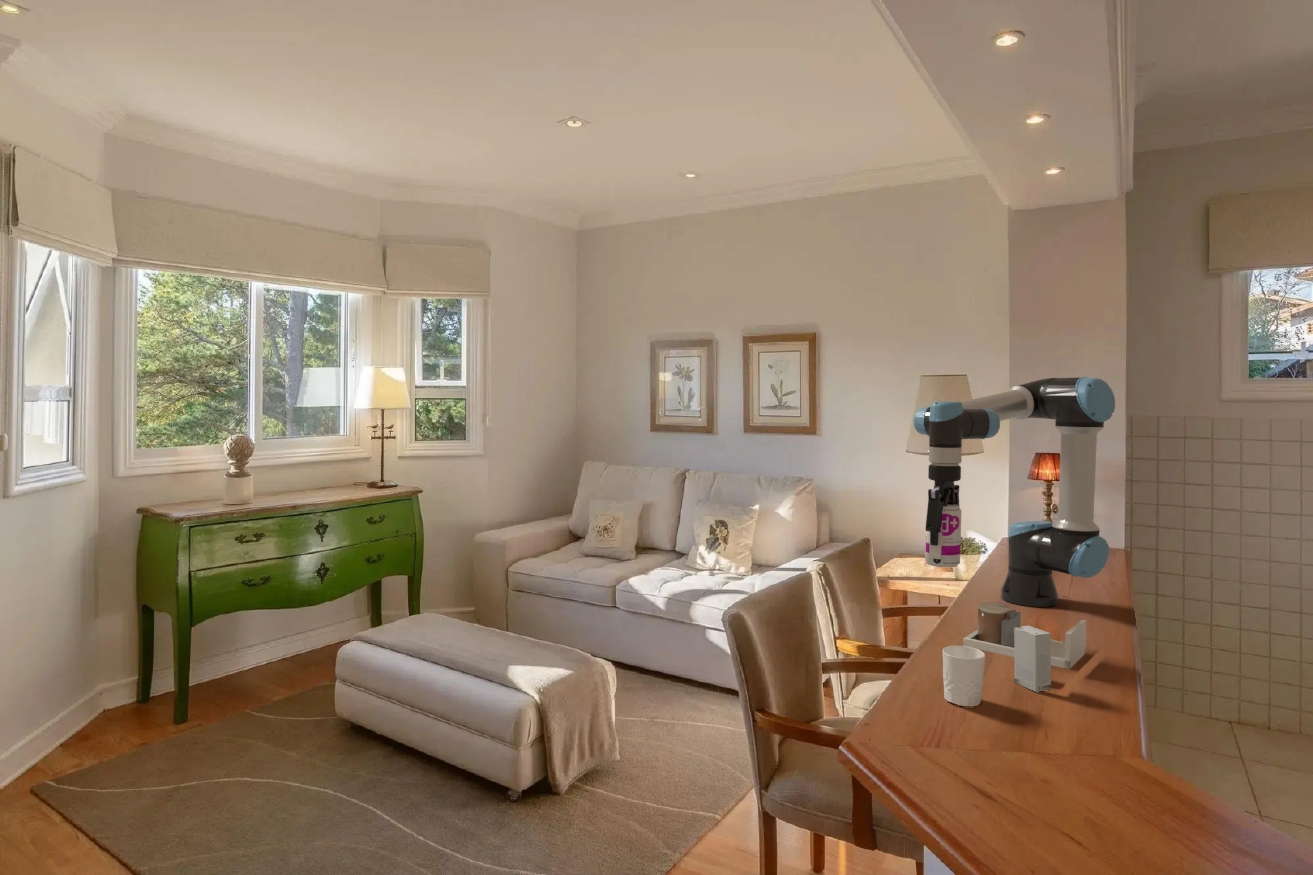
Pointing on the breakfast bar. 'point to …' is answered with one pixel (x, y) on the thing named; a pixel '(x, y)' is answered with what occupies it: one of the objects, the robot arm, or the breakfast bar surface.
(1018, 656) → the skincare box
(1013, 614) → the pusher
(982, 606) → the jar
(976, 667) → the white cup
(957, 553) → the supplement can
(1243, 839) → the breakfast bar surface
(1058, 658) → the lane
